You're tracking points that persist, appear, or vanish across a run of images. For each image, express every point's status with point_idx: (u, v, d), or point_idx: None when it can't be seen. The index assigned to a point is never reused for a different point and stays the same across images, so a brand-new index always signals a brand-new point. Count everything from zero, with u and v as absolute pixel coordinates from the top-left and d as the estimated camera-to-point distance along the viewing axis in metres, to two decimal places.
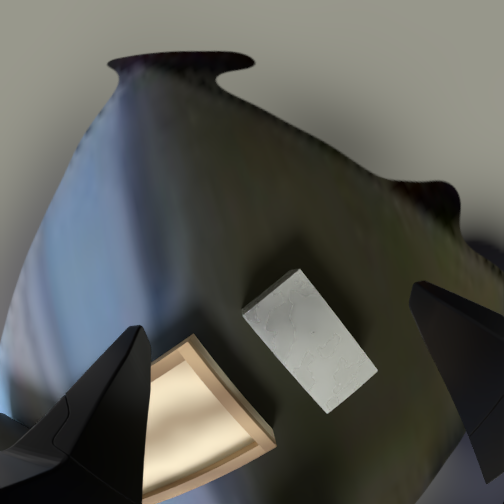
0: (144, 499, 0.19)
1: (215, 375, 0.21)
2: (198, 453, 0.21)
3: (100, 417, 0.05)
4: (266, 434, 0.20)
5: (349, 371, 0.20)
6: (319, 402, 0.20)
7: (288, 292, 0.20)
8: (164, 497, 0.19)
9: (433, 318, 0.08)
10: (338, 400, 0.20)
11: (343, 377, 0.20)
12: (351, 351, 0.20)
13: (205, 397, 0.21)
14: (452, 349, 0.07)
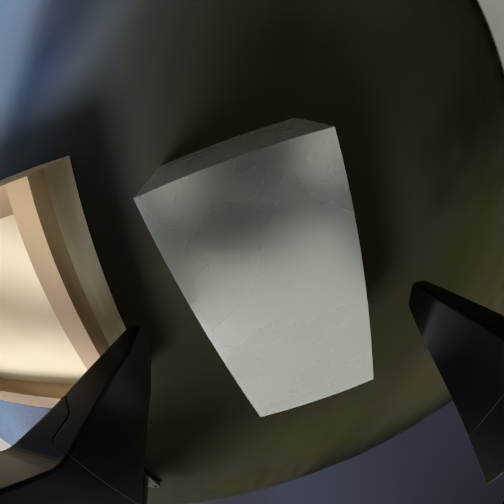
0: None
1: (62, 268, 0.08)
2: (23, 361, 0.11)
3: (100, 417, 0.05)
4: None
5: (330, 372, 0.11)
6: (254, 402, 0.11)
7: (279, 174, 0.07)
8: None
9: (433, 318, 0.08)
10: (288, 405, 0.11)
11: (314, 378, 0.11)
12: (352, 344, 0.10)
13: (42, 291, 0.10)
14: (452, 349, 0.07)
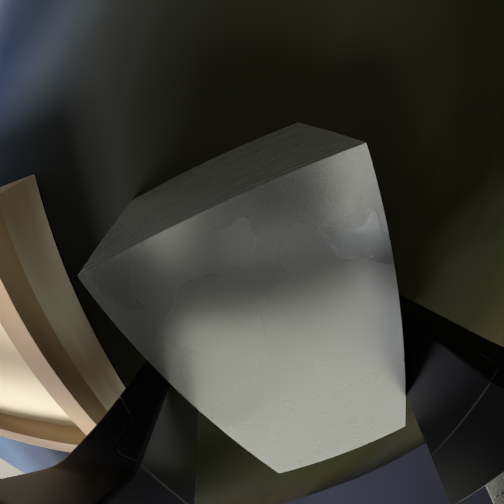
0: None
1: (28, 318, 0.06)
2: (6, 398, 0.09)
3: (164, 418, 0.05)
4: None
5: (357, 430, 0.08)
6: (271, 463, 0.09)
7: (284, 226, 0.04)
8: None
9: None
10: (309, 462, 0.09)
11: (339, 438, 0.08)
12: (383, 403, 0.07)
13: None
14: (412, 364, 0.07)
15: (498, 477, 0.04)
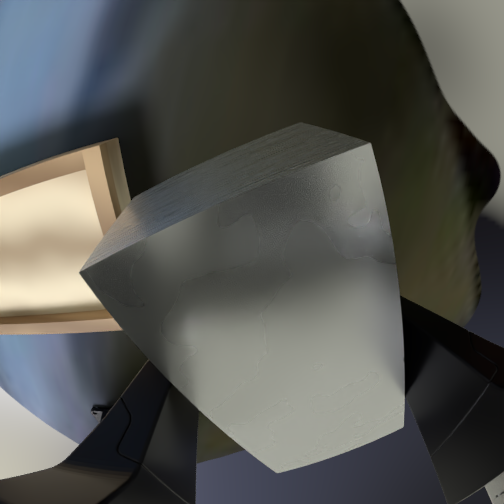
0: None
1: (114, 205, 0.14)
2: (62, 293, 0.17)
3: (165, 418, 0.05)
4: None
5: (356, 431, 0.08)
6: (269, 463, 0.09)
7: (288, 224, 0.04)
8: (14, 331, 0.17)
9: None
10: (307, 462, 0.09)
11: (337, 438, 0.08)
12: (382, 403, 0.07)
13: (93, 228, 0.15)
14: (411, 364, 0.07)
15: (497, 477, 0.04)
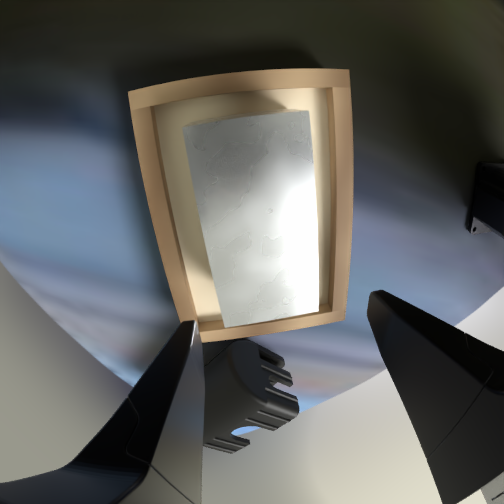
0: (334, 297, 0.19)
1: None
2: None
3: (172, 418, 0.05)
4: (322, 69, 0.13)
5: (285, 292, 0.15)
6: (223, 308, 0.15)
7: (271, 131, 0.11)
8: (344, 269, 0.18)
9: (388, 331, 0.08)
10: (248, 319, 0.15)
11: (272, 294, 0.15)
12: (303, 268, 0.14)
13: (222, 112, 0.14)
14: (406, 366, 0.07)
15: (493, 481, 0.03)
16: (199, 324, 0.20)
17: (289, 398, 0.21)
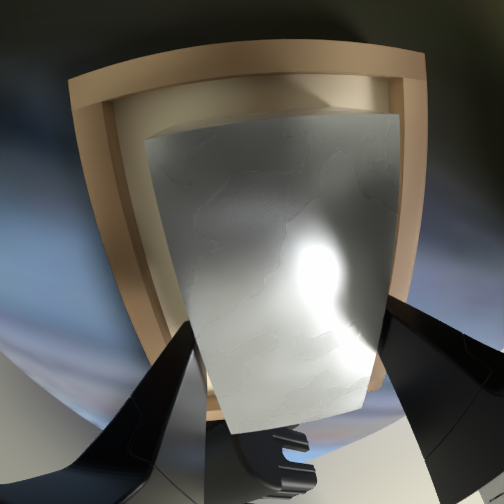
0: (373, 368, 0.13)
1: None
2: None
3: (176, 418, 0.05)
4: None
5: (321, 396, 0.09)
6: (229, 417, 0.09)
7: (330, 150, 0.05)
8: None
9: (386, 332, 0.08)
10: (265, 426, 0.10)
11: (302, 400, 0.09)
12: (353, 367, 0.09)
13: (224, 109, 0.08)
14: (404, 366, 0.07)
15: (491, 482, 0.03)
16: None
17: (305, 470, 0.16)
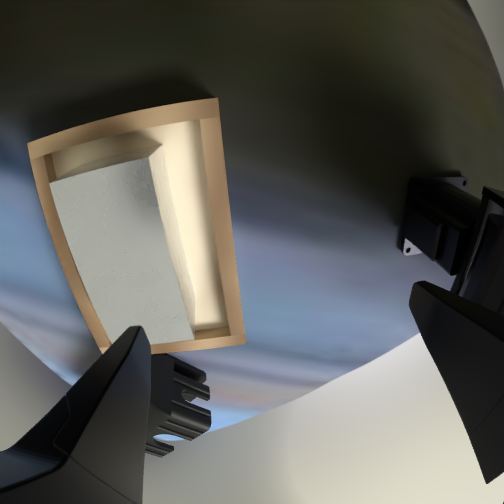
0: (229, 323, 0.20)
1: (74, 127, 0.13)
2: (183, 209, 0.17)
3: (100, 417, 0.05)
4: None
5: (156, 321, 0.15)
6: (108, 331, 0.15)
7: (116, 181, 0.12)
8: (235, 297, 0.19)
9: (433, 318, 0.08)
10: None
11: (146, 322, 0.15)
12: (168, 301, 0.15)
13: (104, 154, 0.15)
14: (452, 349, 0.07)
15: None
16: None
17: (201, 412, 0.22)
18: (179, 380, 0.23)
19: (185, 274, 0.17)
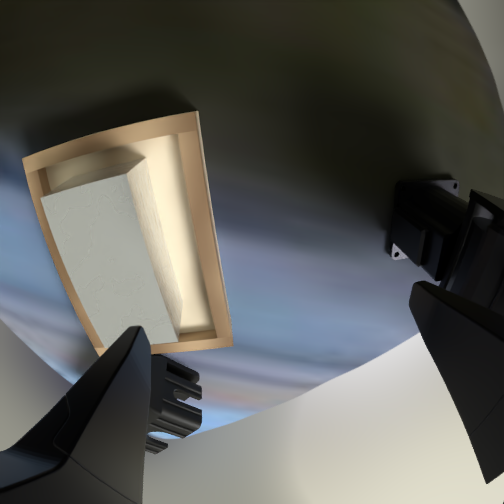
0: (216, 326, 0.21)
1: (64, 143, 0.14)
2: (167, 218, 0.18)
3: (100, 417, 0.05)
4: None
5: (142, 324, 0.16)
6: (99, 333, 0.16)
7: (99, 195, 0.13)
8: (219, 301, 0.20)
9: (433, 318, 0.08)
10: None
11: (132, 325, 0.16)
12: (152, 305, 0.16)
13: (93, 167, 0.16)
14: (452, 349, 0.07)
15: None
16: None
17: (192, 411, 0.23)
18: (171, 380, 0.24)
19: (170, 280, 0.18)
